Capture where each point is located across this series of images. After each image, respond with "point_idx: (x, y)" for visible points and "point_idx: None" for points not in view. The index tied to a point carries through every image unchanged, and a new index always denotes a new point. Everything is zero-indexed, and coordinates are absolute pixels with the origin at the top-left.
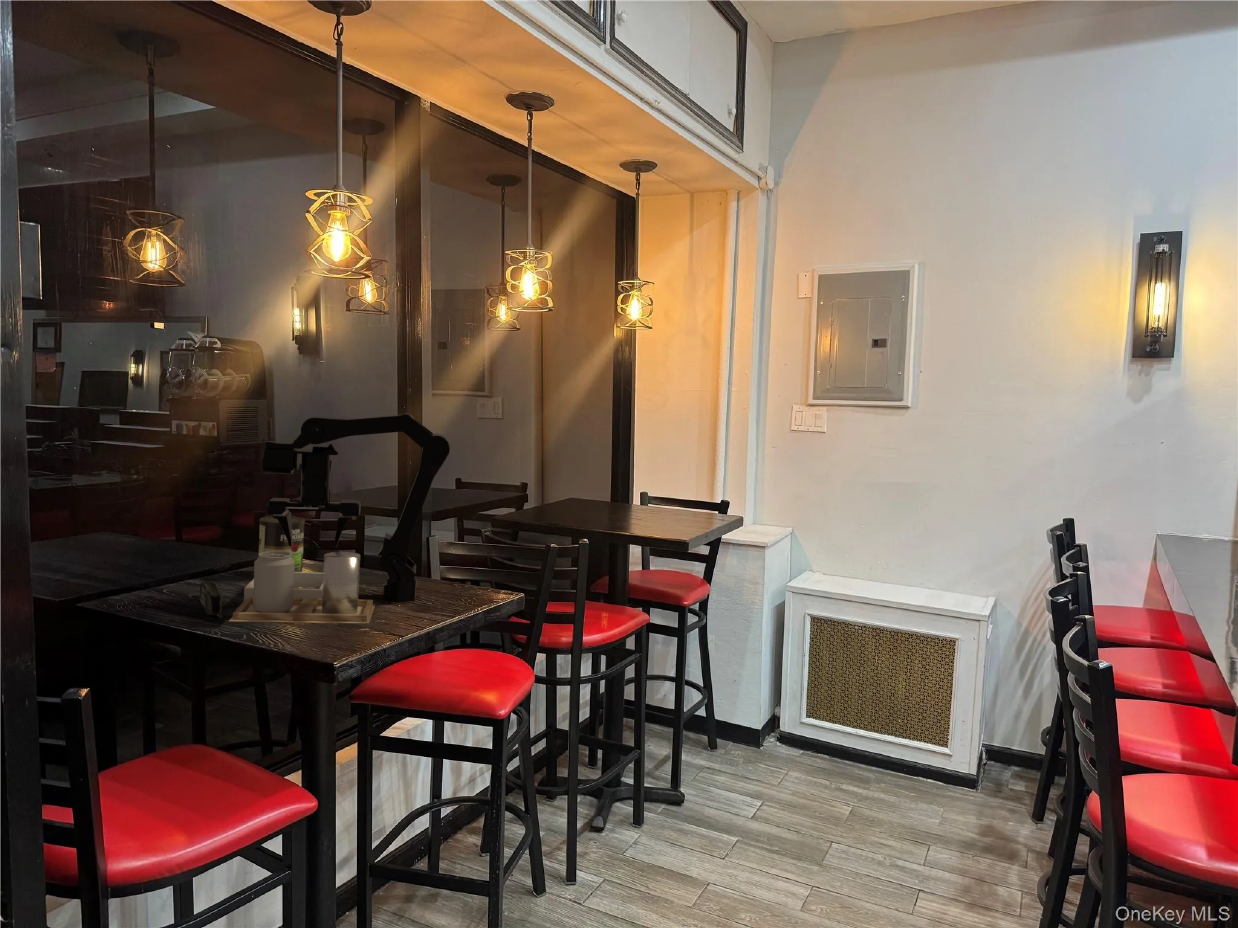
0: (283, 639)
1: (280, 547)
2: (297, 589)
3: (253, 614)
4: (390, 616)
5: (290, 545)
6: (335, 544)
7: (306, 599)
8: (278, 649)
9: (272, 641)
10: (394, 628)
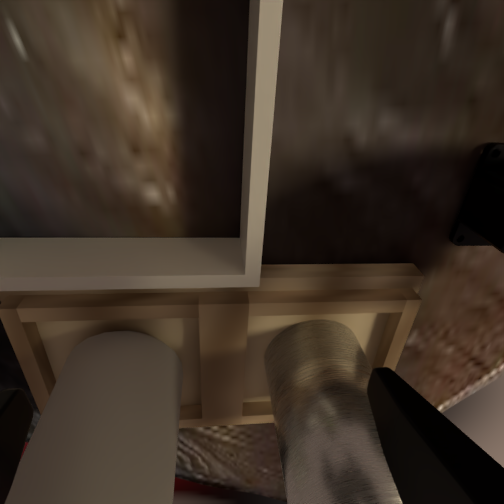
0: (201, 444)
1: None
2: (162, 288)
3: None
4: (440, 306)
5: (23, 423)
6: (377, 414)
7: (209, 315)
8: (204, 476)
9: (183, 453)
10: (423, 379)
